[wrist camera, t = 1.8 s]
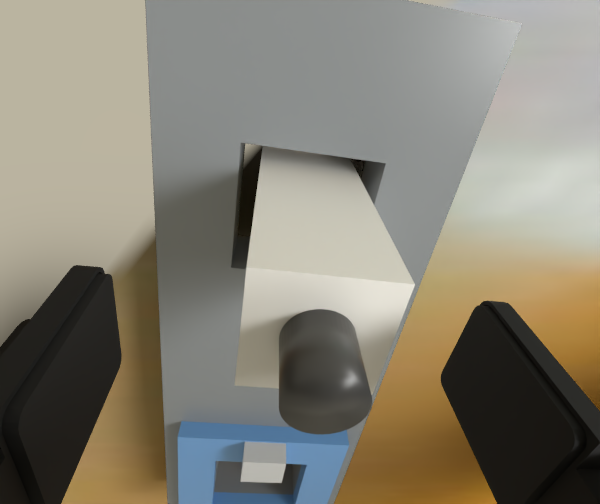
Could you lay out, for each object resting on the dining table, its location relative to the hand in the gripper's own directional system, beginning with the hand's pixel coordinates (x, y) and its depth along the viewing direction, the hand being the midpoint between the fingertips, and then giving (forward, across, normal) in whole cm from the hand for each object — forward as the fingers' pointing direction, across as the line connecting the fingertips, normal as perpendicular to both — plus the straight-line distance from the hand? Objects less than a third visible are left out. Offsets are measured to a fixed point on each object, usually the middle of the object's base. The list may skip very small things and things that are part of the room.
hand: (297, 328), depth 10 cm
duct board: (+10, -1, +9) cm, 13 cm away
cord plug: (+10, -1, 0) cm, 10 cm away
